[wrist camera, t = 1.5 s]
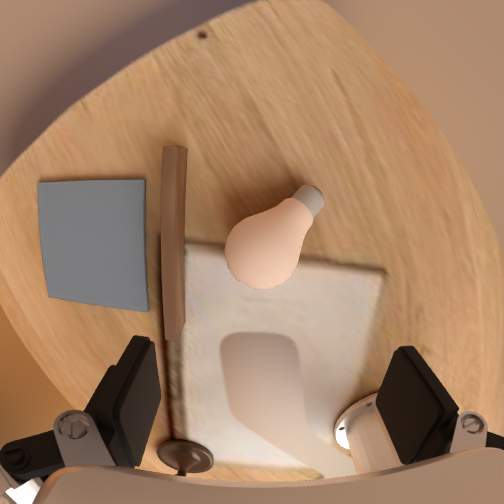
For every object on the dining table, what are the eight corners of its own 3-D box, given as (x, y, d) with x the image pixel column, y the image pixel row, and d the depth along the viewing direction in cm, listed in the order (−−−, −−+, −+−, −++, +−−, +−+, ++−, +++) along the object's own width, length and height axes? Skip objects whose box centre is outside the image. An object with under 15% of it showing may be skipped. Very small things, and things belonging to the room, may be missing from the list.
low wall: (187, 149, 27) (177, 146, 23) (185, 321, 32) (177, 341, 28) (175, 149, 27) (163, 146, 23) (174, 320, 32) (165, 339, 28)
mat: (146, 179, 28) (143, 179, 27) (149, 309, 31) (147, 312, 31) (40, 182, 27) (37, 182, 27) (51, 295, 31) (48, 296, 31)
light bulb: (315, 160, 23) (218, 264, 22) (358, 218, 25) (275, 315, 24) (280, 165, 29) (202, 247, 28) (320, 211, 31) (249, 290, 30)
